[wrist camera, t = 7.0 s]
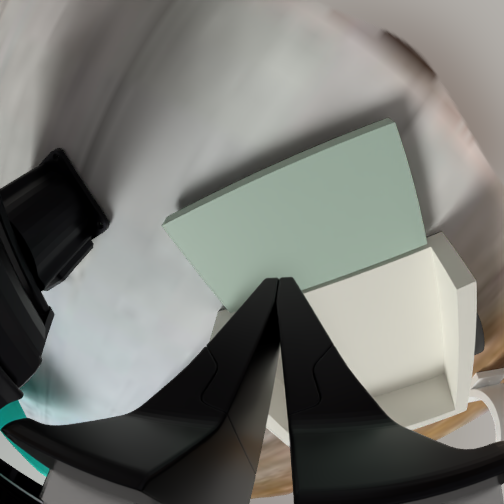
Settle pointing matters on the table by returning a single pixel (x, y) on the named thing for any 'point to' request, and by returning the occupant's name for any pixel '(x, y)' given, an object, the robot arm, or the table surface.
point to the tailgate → (305, 217)
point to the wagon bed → (399, 334)
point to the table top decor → (3, 417)
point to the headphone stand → (490, 396)
